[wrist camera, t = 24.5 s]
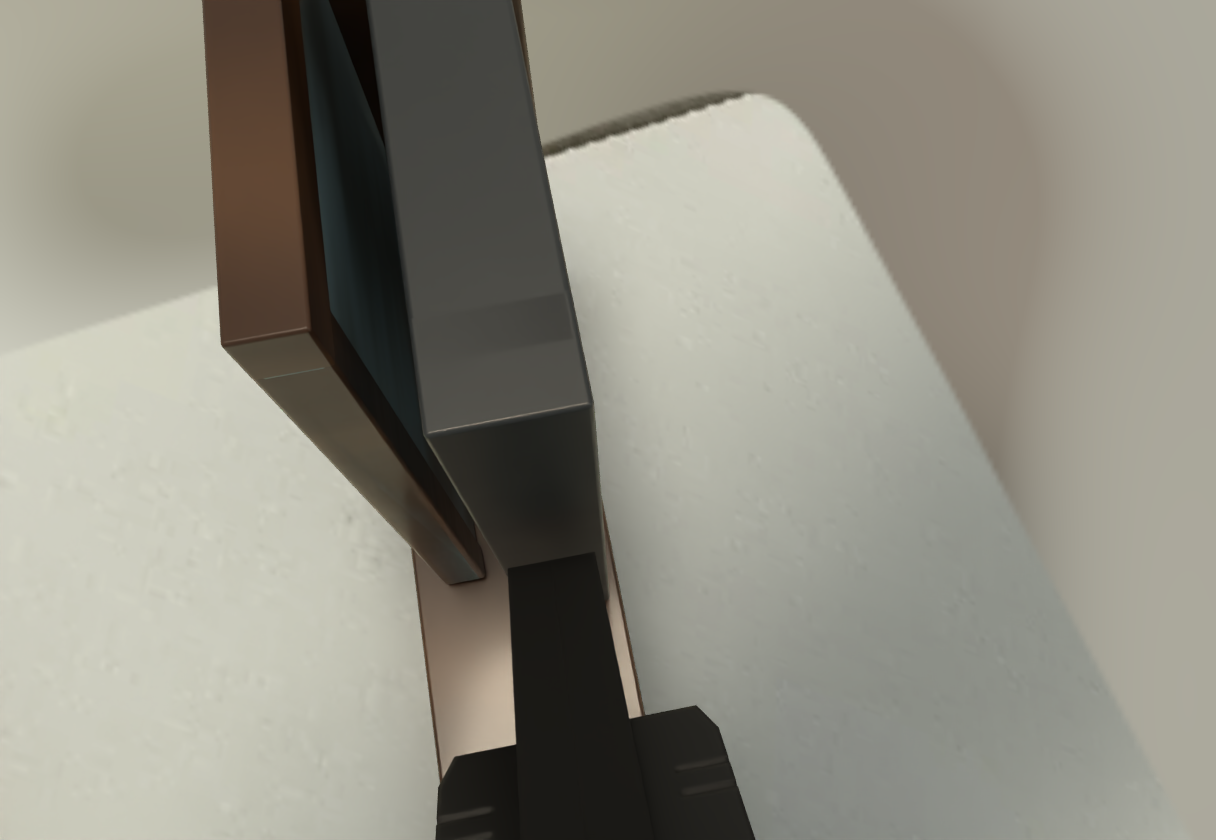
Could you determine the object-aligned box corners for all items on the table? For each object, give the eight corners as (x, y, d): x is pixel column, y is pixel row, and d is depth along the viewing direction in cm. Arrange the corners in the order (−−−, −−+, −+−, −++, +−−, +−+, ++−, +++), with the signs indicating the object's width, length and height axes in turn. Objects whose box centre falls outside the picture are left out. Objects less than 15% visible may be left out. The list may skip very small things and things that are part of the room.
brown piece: (695, 974, 22) (838, 1381, 7) (478, 1021, 21) (170, 1546, 7) (555, 270, 28) (482, -265, 14) (387, 300, 28) (132, -213, 13)
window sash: (610, 599, 23) (594, 406, 11) (529, 615, 23) (422, 439, 11) (549, 286, 26) (483, -139, 14) (477, 299, 26) (348, -119, 14)
